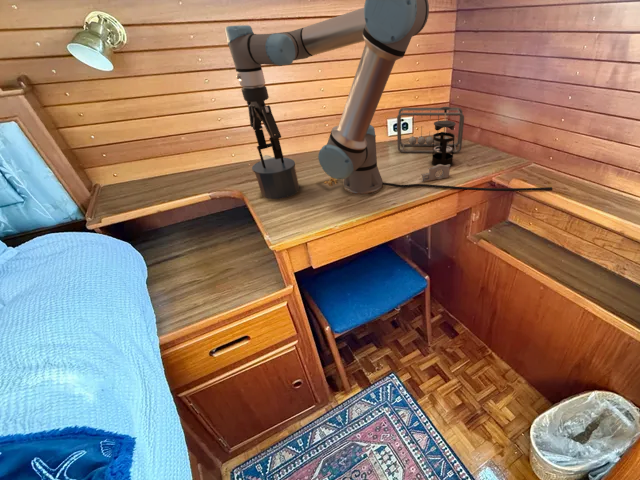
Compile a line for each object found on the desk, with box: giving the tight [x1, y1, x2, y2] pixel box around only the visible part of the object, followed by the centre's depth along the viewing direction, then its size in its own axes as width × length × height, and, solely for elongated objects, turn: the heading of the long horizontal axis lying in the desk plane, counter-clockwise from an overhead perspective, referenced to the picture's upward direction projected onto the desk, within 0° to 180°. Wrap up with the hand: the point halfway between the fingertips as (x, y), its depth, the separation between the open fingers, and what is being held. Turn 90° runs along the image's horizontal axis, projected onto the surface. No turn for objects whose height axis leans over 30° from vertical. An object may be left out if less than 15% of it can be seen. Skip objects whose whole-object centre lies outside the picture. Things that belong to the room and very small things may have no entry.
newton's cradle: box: [396, 107, 465, 154], centre depth 155 cm, size 30×10×18 cm, turn 86°
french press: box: [431, 106, 456, 167], centre depth 139 cm, size 12×9×23 cm
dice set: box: [324, 177, 339, 187], centre depth 130 cm, size 5×5×2 cm
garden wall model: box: [421, 164, 451, 183], centre depth 131 cm, size 12×2×6 cm, turn 110°
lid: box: [251, 142, 296, 175], centre depth 117 cm, size 15×15×9 cm
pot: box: [254, 165, 300, 200], centre depth 123 cm, size 14×14×10 cm
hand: (271, 153), depth 117 cm, fingers open, 13 cm apart
